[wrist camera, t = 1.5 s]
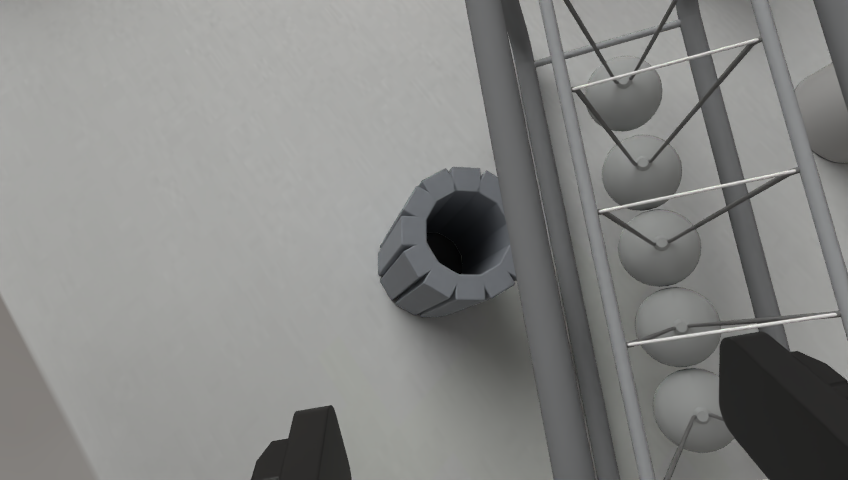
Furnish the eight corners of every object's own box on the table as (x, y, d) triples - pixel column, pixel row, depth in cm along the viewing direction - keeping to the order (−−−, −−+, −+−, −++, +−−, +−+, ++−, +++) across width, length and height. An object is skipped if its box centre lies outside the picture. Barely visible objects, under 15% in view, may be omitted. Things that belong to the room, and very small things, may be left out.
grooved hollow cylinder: (412, 337, 32) (446, 326, 24) (358, 244, 32) (375, 204, 24) (499, 284, 33) (557, 258, 25) (446, 196, 34) (488, 145, 26)
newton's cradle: (511, 38, 37) (425, -200, 20) (689, -15, 34) (764, -346, 17) (613, 552, 31) (613, 820, 14) (837, 540, 28) (1163, 858, 12)
